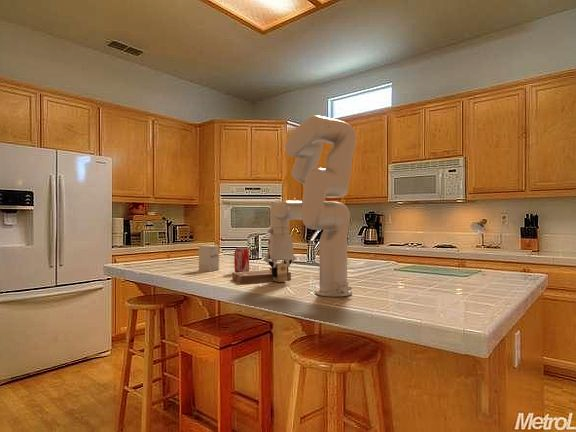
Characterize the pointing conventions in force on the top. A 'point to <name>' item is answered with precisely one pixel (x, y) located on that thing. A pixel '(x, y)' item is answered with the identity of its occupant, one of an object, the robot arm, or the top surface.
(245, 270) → the soda can
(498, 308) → the top surface
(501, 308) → the top surface
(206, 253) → the supplement box
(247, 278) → the walnut plank
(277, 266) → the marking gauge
